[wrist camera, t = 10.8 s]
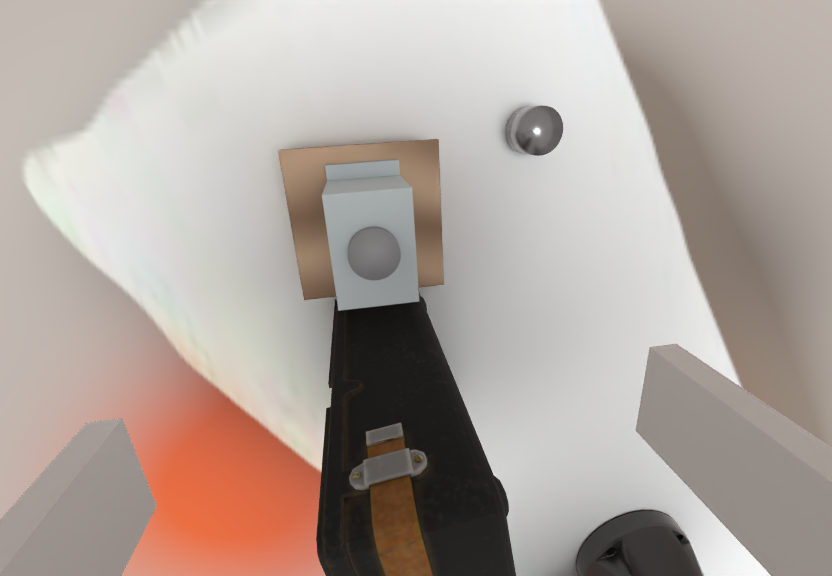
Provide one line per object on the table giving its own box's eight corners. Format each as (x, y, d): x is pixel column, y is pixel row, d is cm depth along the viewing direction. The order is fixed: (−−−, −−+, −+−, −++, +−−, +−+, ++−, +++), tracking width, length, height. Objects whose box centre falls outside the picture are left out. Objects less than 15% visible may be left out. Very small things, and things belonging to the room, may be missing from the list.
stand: (432, 265, 38) (443, 284, 34) (309, 277, 37) (304, 299, 32) (426, 137, 34) (438, 139, 29) (288, 146, 33) (278, 150, 28)
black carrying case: (323, 292, 38) (283, 560, 15) (416, 269, 38) (518, 494, 15) (365, 426, 44) (384, 764, 21) (445, 405, 44) (550, 711, 21)
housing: (406, 277, 33) (422, 321, 26) (342, 284, 32) (340, 331, 25) (397, 158, 29) (413, 170, 22) (325, 164, 29) (317, 178, 22)
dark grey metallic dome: (544, 151, 36) (561, 153, 33) (504, 154, 36) (517, 157, 33) (547, 105, 35) (564, 104, 32) (505, 108, 34) (519, 107, 31)
